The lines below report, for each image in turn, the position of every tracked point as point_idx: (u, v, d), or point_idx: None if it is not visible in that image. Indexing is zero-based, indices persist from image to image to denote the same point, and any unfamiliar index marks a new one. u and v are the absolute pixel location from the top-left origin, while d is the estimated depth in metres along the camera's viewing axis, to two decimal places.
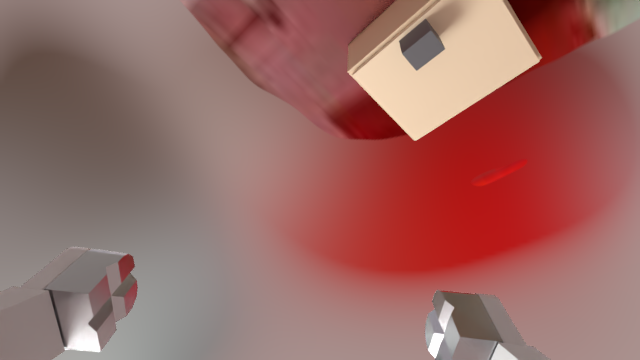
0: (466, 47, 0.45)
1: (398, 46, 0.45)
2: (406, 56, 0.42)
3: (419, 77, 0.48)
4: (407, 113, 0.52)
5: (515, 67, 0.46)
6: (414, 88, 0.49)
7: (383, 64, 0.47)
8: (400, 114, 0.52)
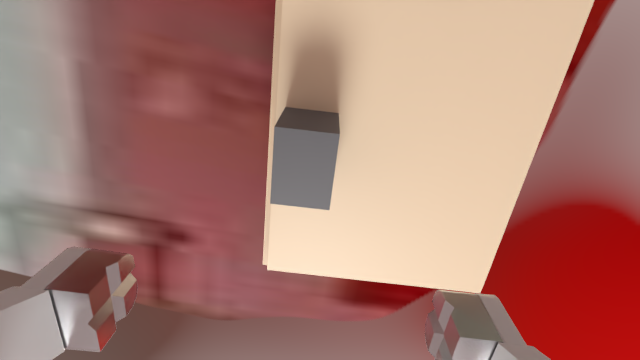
0: (409, 89, 0.19)
1: None
2: (283, 201, 0.17)
3: (376, 196, 0.22)
4: (417, 263, 0.24)
5: (553, 40, 0.18)
6: (385, 218, 0.22)
7: (295, 221, 0.23)
8: (407, 271, 0.24)
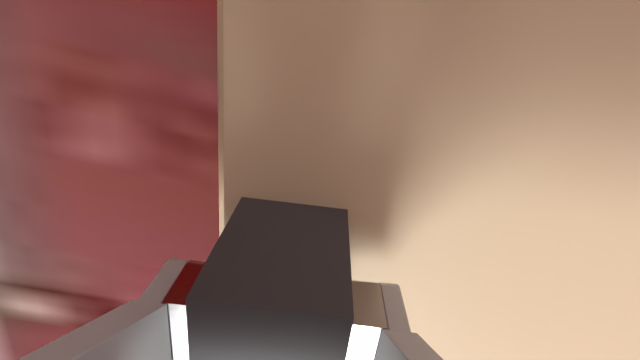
0: (493, 168, 0.09)
1: None
2: None
3: None
4: None
5: None
6: None
7: None
8: None
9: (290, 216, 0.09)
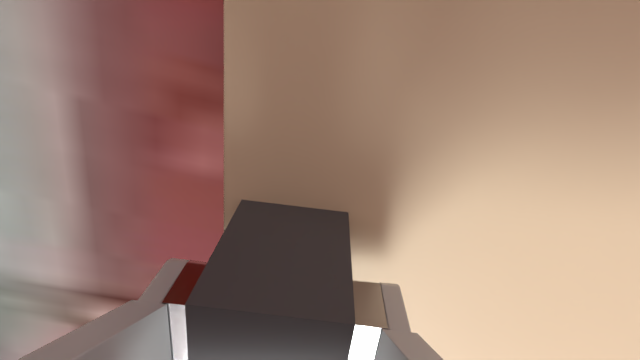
0: (496, 171, 0.09)
1: None
2: None
3: None
4: None
5: None
6: None
7: None
8: None
9: (290, 219, 0.09)
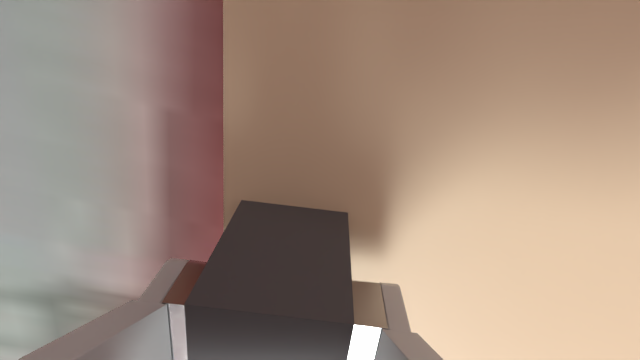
0: (495, 171, 0.09)
1: None
2: None
3: None
4: None
5: None
6: None
7: None
8: None
9: (290, 219, 0.09)
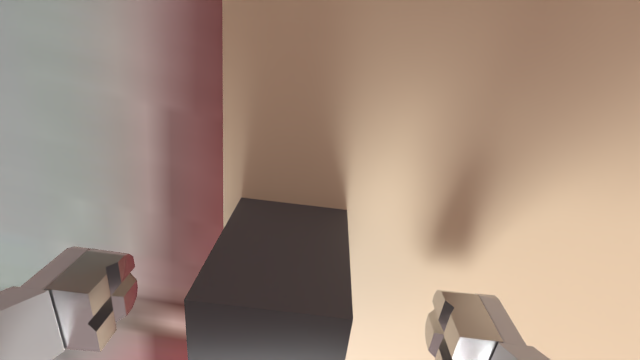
0: (493, 169, 0.09)
1: None
2: None
3: (414, 346, 0.12)
4: None
5: None
6: None
7: None
8: None
9: (289, 217, 0.09)
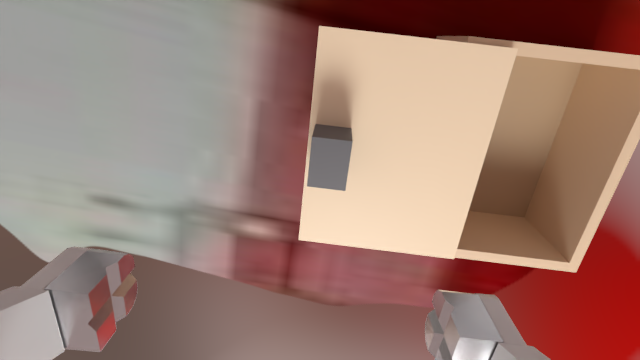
0: (398, 112, 0.28)
1: None
2: (315, 185, 0.27)
3: (377, 185, 0.31)
4: (406, 235, 0.33)
5: (491, 81, 0.27)
6: (384, 201, 0.32)
7: (320, 203, 0.32)
8: (399, 242, 0.33)
9: (333, 128, 0.28)
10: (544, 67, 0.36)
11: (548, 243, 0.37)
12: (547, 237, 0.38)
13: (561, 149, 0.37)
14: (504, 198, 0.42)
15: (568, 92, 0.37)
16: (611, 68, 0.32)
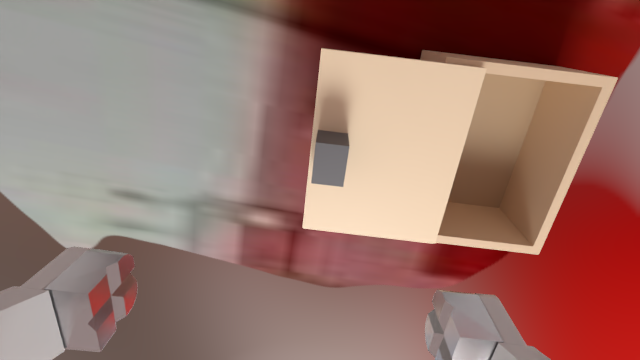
0: (387, 120, 0.34)
1: None
2: (318, 182, 0.32)
3: (369, 181, 0.36)
4: (395, 224, 0.38)
5: (465, 95, 0.32)
6: (375, 195, 0.37)
7: (321, 197, 0.37)
8: (389, 229, 0.39)
9: (332, 133, 0.34)
10: (515, 77, 0.41)
11: (517, 230, 0.43)
12: (516, 225, 0.44)
13: (529, 149, 0.43)
14: (481, 191, 0.48)
15: (536, 99, 0.42)
16: None
